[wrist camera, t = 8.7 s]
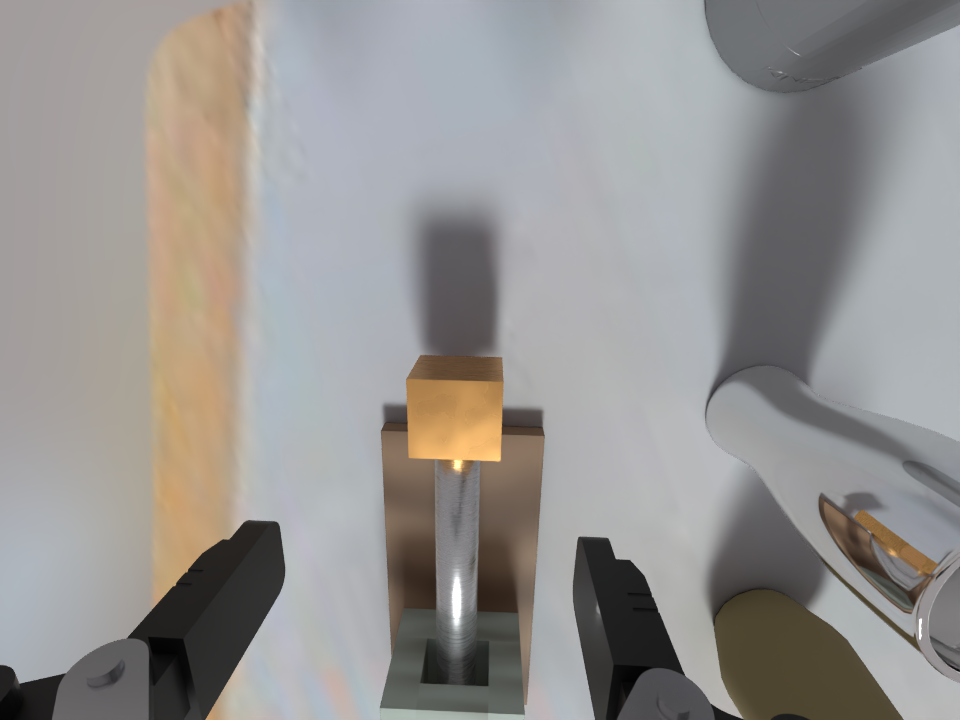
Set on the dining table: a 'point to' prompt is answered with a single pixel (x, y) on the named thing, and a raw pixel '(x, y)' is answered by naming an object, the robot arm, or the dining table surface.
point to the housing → (501, 581)
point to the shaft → (456, 487)
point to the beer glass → (857, 498)
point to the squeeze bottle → (792, 663)
